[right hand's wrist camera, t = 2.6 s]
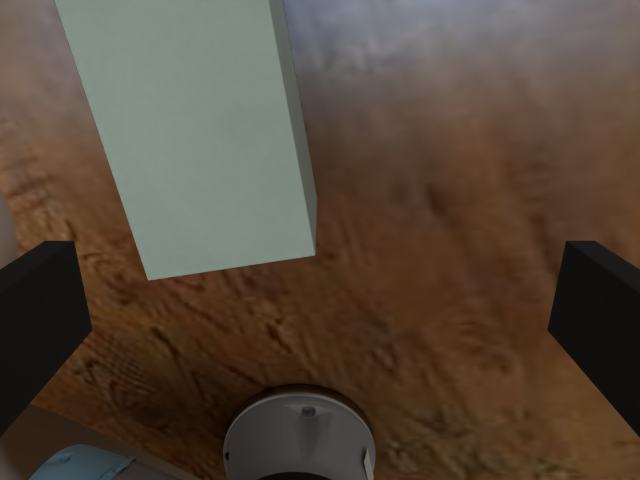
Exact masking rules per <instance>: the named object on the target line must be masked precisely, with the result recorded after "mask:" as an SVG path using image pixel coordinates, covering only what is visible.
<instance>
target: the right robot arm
mask: <svg viewBox="0 0 640 480" xmlns="http://www.w3.org/2000/svg"><path fill="white" fill-rule="evenodd" d="M91 331H92V326H91V321H90V316H89V311H88V306H87V302H86V297H85V292H84V287H83V282H82V277H81V273H80V268H79V263H78V258H77V253H76V249H75V244H74V241H44V242H43V243H41V244H40V245H38V246H36V247H35V248H33V249H32V250H30V251H29V252H27V253H25V254H24V255H22V256H21V257H19V258H18V259H16V260H15V261H13V262H11V263H10V264H8V265H7V266H5V267H4V268H2V269H0V437H1V436H2V435H3V434H4V432H5V431H6V430H7V429H8V428H9V427H10V425H11V424H12V423H13V422H14V421H15V420H16V418H17V417H18V416H19V415H20V414H21V413H22V411H23V410H24V409H25V408H26V407H27V406H28V404H29V403H30V402H31V401H32V400H33V399H34V397H35V396H36V395H37V394H38V393H39V392H40V391H41V389H42V388H43V387H44V386H45V385H46V384H47V382H48V381H49V380H50V379H51V378H52V377H53V375H54V374H55V373H56V372H57V371H58V370H59V368H60V367H61V366H62V365H63V364H64V363H65V361H66V360H67V359H68V358H69V357H70V356H71V354H72V353H73V352H74V351H75V350H76V349H77V347H78V346H79V345H80V344H81V343H82V342H83V340H84V339H85V338H86V337H87V336H88V335H89V334H90V332H91ZM548 331H549V332H550V334H551V335H552V336H553V337H554V338H555V339H556V340H557V342H558V343H559V344H560V345H561V346H562V347H563V349H564V350H565V351H566V352H567V353H568V354H569V356H570V357H571V358H572V359H573V360H574V361H575V363H576V364H577V365H578V366H579V367H580V368H581V370H582V371H583V372H584V373H585V374H586V375H587V377H588V378H589V379H590V380H591V381H592V382H593V384H594V385H595V386H596V387H597V388H598V389H599V391H600V392H601V393H602V394H603V395H604V396H605V397H606V399H607V400H608V401H609V402H610V403H611V404H612V406H613V407H614V408H615V409H616V410H617V411H618V413H619V414H620V415H621V416H622V417H623V418H624V420H625V421H626V422H627V423H628V424H629V425H630V427H631V428H632V429H633V430H634V431H635V432H636V434H637V435H638V436H639V437H640V269H638V268H636V267H635V266H633V265H632V264H630V263H629V262H627V261H625V260H624V259H622V258H621V257H619V256H618V255H616V254H615V253H613V252H611V251H610V250H608V249H607V248H605V247H604V246H602V245H600V244H599V243H597V242H596V241H566V244H565V249H564V253H563V258H562V263H561V268H560V273H559V277H558V282H557V287H556V292H555V297H554V302H553V306H552V311H551V316H550V321H549V326H548ZM375 455H376V454H375V444H374V437H373V432H372V428H371V426H370V423H369V421H368V420H367V418H366V416H365V415H364V414H363V412H362V411H361V410H360V409H359V408H358V407H357V406H356V405H355V404H354V403H353V402H351V401H350V400H348V399H347V398H345V397H344V396H342V395H340V394H338V393H336V392H333V391H331V390H328V389H325V388H321V387H316V386H310V385H287V386H281V387H277V388H273V389H270V390H267V391H264V392H262V393H260V394H258V395H256V396H254V397H252V398H251V399H250V400H248V401H247V402H246V403H244V404H243V405H242V406H241V407H240V408H239V409H238V411H237V412H236V413H235V414H234V416H233V418H232V419H231V422H230V424H229V427H228V430H227V434H226V438H225V441H224V447H223V461H224V468H225V472H226V480H373V477H374V476H373V470H374V465H375ZM135 460H136V457H134V456H127V457H125V456H122V455H119V454H116V453H112V452H109V451H106V450H103V449H100V448H97V447H94V446H91V445H86V444H77V445H72V446H69V447H66V448H65V449H62V450H61V451H59V452H58V453H56V454H55V455H53V456H52V457H51V458H50V459H49V460H47V461H46V462H45V463H44V464H43V465H42V466H41V467H40V468H39V469H38V470H37V471H36V472H35V473H34V475H33V476H32V477H31V478H30V479H29V480H182V479H179V478H176V477H174V476H171V475H169V474H166V473H164V472H161V471H159V470H156V469H154V468H151V467H149V466H146V465H144V464H142V463H139V462H137V461H135Z"/></svg>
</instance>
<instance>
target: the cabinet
mask: <svg viewBox="0 0 640 480" xmlns="http://www.w3.org/2000/svg"><path fill="white" fill-rule="evenodd" d="M54 1H55V4H56V7H57V10H58V13H59V16H60V19H61V22H62V25H63V28H64V31H65V34H66V37H67V40H68V43H69V46H70V49H71V52H72V55H73V58H74V61H75V64H76V67H77V70H78V73H79V76H80V79H81V81H82V84H83V87H84V90H85V93H86V96H87V99H88V102H89V105H90V108H91V111H92V114H93V117H94V120H95V123H96V126H97V129H98V132H99V135H100V138H101V141H102V144H103V147H104V150H105V153H106V156H107V159H108V162H109V165H110V168H111V171H112V174H113V177H114V180H115V183H116V186H117V189H118V192H119V195H120V198H121V201H122V204H123V207H124V210H125V213H126V216H127V219H128V222H129V225H130V228H131V231H132V234H133V237H134V240H135V243H136V246H137V249H138V252H139V255H140V258H141V260H142V263H143V266H144V269H145V272H146V275H147V278H148V280H155V279H162V278H168V277H175V276H182V275H188V274H195V273H201V272H208V271H215V270H221V269H228V268H235V267H241V266H248V265H255V264H261V263H268V262H275V261H281V260H288V259H295V258H301V257H308V256H314V255H315V249H316V248H315V246H316V216H317V194H316V189H315V183H314V177H313V171H312V166H311V160H310V154H309V148H308V142H307V137H306V131H305V125H304V119H303V114H302V108H301V102H300V96H299V90H298V85H297V79H296V73H295V67H294V62H293V56H292V50H291V44H290V39H289V33H288V27H287V21H286V15H285V10H284V4H283V0H54Z"/></svg>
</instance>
